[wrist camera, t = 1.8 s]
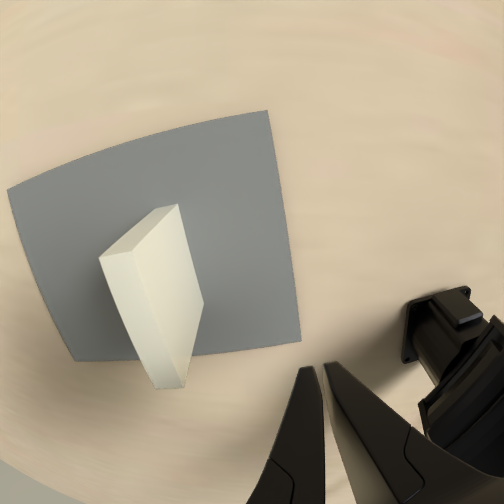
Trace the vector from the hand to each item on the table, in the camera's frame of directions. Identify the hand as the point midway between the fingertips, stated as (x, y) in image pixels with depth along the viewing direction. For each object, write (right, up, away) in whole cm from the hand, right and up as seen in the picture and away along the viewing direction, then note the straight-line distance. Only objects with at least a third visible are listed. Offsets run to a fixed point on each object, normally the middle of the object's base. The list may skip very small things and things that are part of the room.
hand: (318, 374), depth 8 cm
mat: (-9, +3, +12) cm, 15 cm away
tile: (-6, +3, +11) cm, 13 cm away
